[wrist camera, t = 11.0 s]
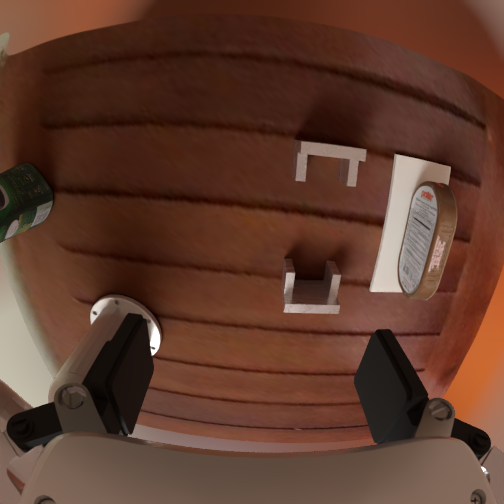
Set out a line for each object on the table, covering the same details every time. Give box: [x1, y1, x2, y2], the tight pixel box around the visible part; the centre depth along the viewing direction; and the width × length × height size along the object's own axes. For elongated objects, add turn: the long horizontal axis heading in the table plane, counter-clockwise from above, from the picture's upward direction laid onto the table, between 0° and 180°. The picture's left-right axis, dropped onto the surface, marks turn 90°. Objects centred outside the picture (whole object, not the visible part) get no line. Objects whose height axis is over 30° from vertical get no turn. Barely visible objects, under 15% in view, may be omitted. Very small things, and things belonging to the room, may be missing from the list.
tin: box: [397, 181, 457, 300], centre depth 31 cm, size 15×3×8 cm, turn 177°
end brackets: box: [281, 140, 366, 314], centre depth 32 cm, size 7×19×6 cm, turn 177°
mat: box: [369, 154, 451, 292], centre depth 35 cm, size 19×9×1 cm, turn 177°
